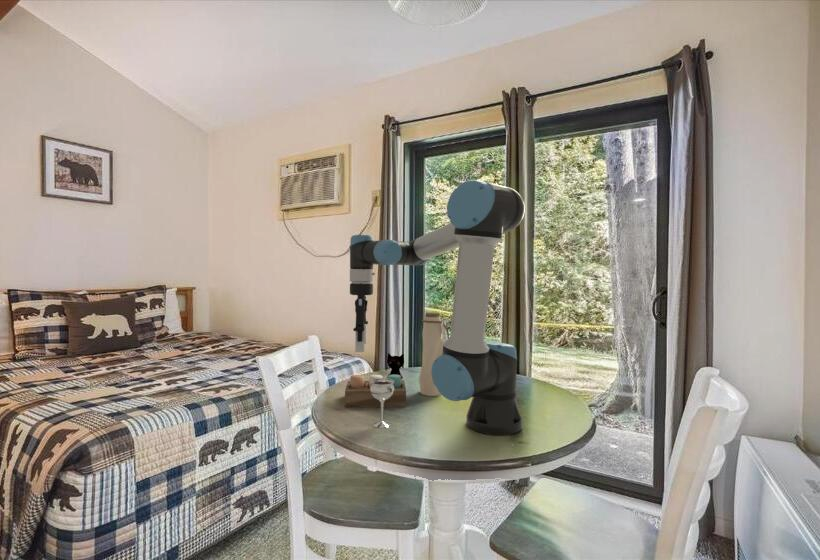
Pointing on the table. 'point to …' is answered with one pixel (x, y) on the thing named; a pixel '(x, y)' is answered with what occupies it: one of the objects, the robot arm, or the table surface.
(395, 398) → the console
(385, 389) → the wineglass
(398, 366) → the cat figurine
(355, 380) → the terracotta button
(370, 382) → the ivory button
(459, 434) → the table surface
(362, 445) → the table surface
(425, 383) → the water bottle
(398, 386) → the teal button
